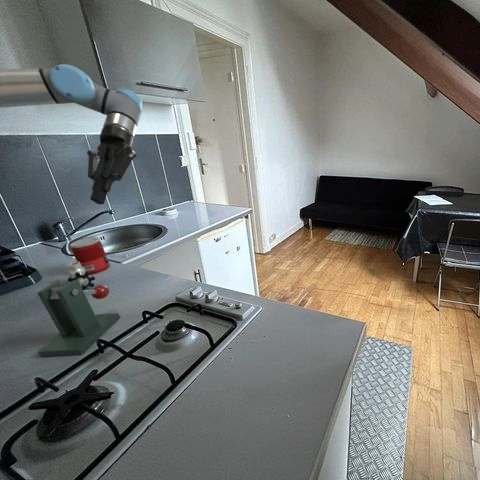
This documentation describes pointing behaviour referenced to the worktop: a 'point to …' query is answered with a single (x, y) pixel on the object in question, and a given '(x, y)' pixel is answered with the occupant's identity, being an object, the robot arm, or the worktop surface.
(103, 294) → the lever
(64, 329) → the bracket
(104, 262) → the canned food
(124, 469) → the worktop surface
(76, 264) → the valve
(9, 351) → the worktop surface
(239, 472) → the worktop surface
